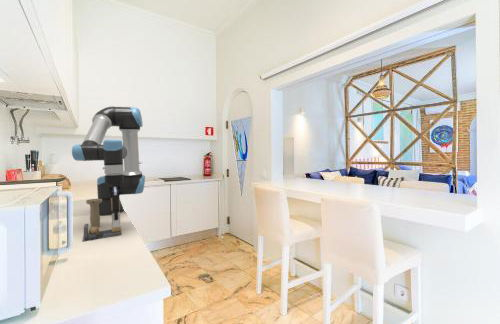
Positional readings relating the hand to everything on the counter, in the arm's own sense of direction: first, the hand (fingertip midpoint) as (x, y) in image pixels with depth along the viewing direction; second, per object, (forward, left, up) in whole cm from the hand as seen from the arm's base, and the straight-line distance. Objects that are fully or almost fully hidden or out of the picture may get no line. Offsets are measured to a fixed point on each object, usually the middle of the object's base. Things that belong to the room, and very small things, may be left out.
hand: (116, 225), depth 111 cm
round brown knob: (+3, -8, -3) cm, 9 cm away
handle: (-9, -13, -5) cm, 16 cm away
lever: (0, 0, -3) cm, 3 cm away
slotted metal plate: (+2, -5, -5) cm, 7 cm away
